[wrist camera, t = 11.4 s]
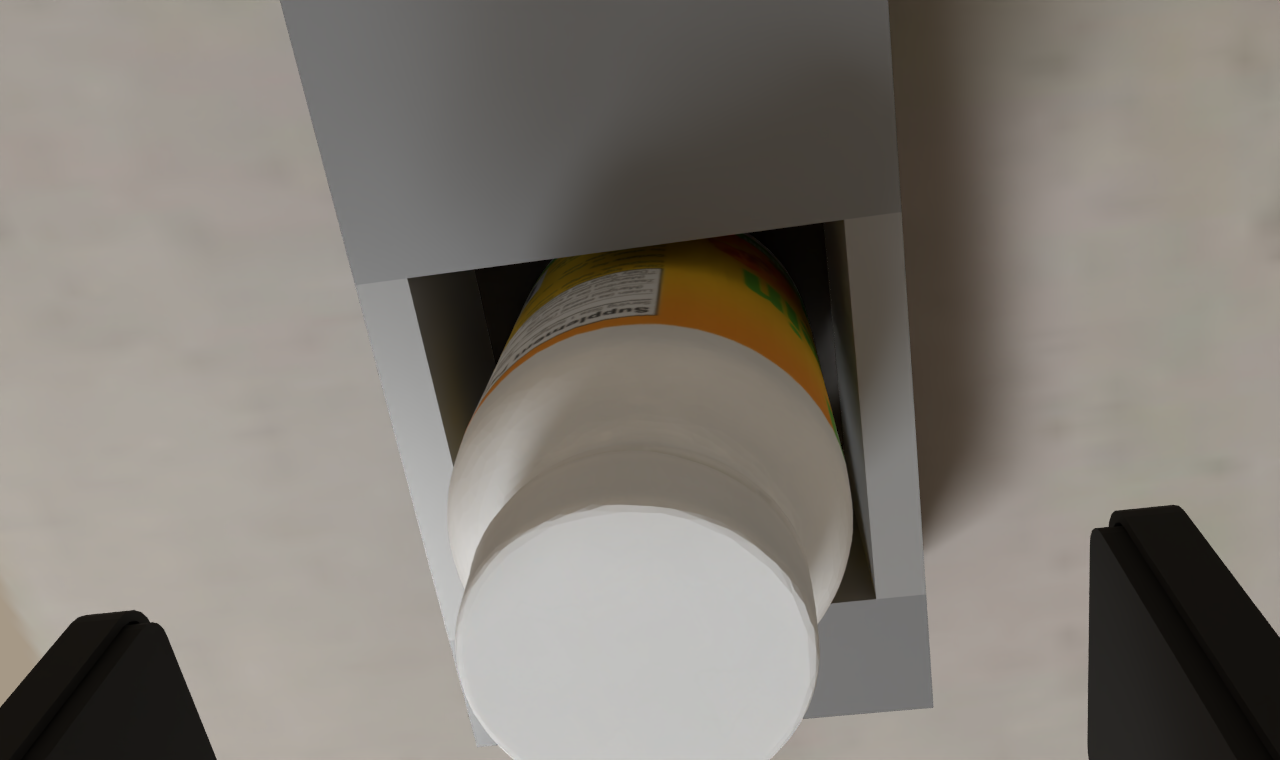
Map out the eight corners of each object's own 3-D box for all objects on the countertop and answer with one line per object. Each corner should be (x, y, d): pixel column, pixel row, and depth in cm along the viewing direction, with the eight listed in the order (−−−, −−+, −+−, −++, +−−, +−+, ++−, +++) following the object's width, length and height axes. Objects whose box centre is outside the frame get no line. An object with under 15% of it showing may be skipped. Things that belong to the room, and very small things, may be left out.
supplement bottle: (852, 409, 21) (960, 772, 12) (600, 508, 22) (530, 907, 13) (740, 151, 19) (772, 356, 10) (471, 274, 21) (294, 553, 12)
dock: (344, -99, 18) (253, -100, 14) (838, -184, 17) (874, -209, 14) (512, 615, 23) (477, 746, 20) (896, 577, 23) (933, 707, 19)
